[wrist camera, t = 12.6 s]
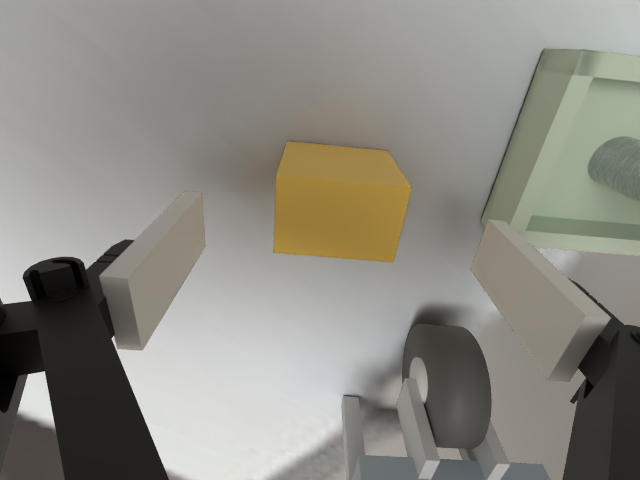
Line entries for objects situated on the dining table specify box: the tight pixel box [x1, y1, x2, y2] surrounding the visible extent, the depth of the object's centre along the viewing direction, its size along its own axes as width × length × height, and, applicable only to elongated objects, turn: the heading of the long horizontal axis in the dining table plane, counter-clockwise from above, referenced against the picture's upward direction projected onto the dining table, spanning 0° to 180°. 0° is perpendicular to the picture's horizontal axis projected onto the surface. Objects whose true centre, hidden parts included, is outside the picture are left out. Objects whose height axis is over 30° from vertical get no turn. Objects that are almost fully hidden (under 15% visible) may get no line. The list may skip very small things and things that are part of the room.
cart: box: [342, 324, 551, 480], centre depth 24 cm, size 12×13×11 cm
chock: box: [274, 141, 412, 262], centre depth 19 cm, size 4×6×6 cm, turn 84°
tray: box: [481, 49, 640, 256], centre depth 19 cm, size 10×12×3 cm
